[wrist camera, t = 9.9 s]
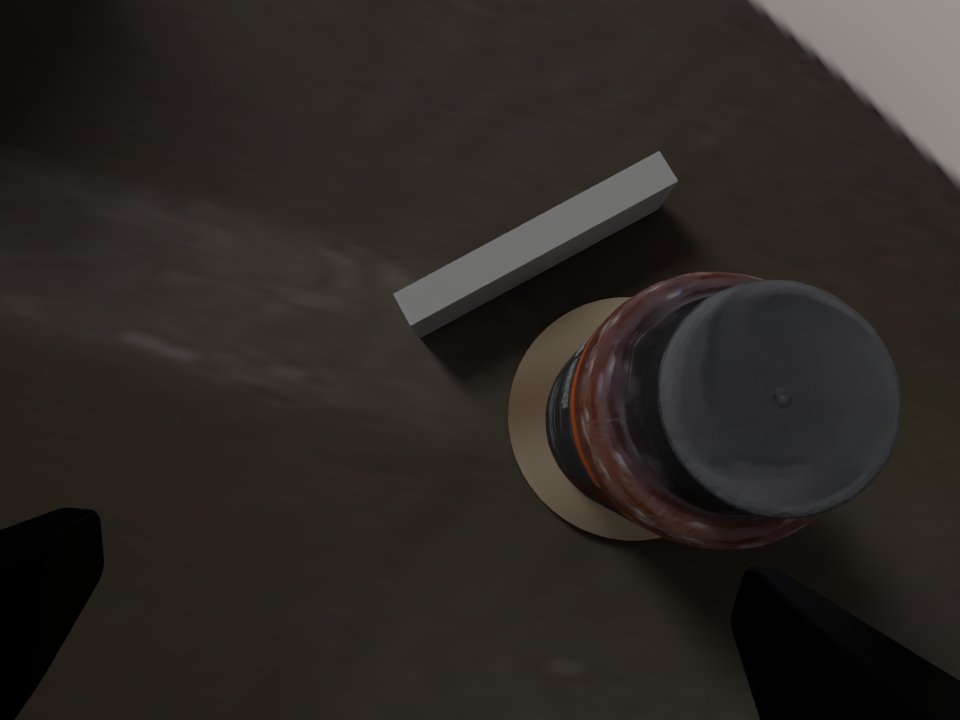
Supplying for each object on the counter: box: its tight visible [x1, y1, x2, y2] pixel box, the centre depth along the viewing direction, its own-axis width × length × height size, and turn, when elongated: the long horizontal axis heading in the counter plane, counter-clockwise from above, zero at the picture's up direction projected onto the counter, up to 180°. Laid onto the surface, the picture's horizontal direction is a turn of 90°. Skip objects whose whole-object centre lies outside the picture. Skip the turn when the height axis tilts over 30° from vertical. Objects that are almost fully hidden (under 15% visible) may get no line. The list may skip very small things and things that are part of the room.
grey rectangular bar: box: [393, 151, 678, 338], centre depth 21 cm, size 10×1×2 cm, turn 119°
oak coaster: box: [508, 297, 661, 541], centre depth 21 cm, size 8×8×1 cm
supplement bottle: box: [545, 272, 901, 550], centre depth 15 cm, size 6×6×11 cm
